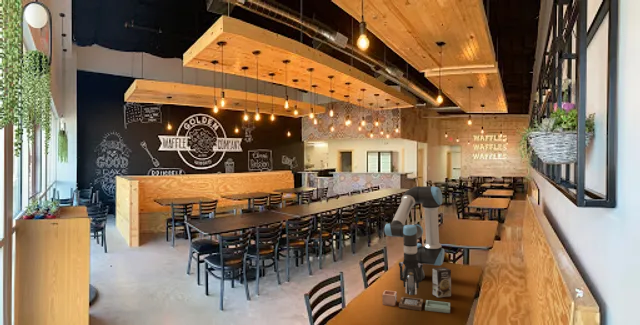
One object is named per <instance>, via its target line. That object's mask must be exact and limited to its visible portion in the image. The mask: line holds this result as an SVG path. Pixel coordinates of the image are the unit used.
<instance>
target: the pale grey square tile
mask: <svg viewBox="0 0 640 325" xmlns="http://www.w3.org/2000/svg"><path fill="white" fill-rule="evenodd" d="M404 304H408V305H417V304H418V300H410V299H405V302H404Z"/></svg>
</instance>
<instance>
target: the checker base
mask: <svg viewBox="0 0 640 325" xmlns="http://www.w3.org/2000/svg"><path fill="white" fill-rule="evenodd" d="M405 299H410V300H418V304H417V305H408V304H404V302H405ZM423 304H424V299H423V298H416V297H408V296H401V298H400V300H399V303H398V308H399V309H406V310H415V311H422V309H423Z"/></svg>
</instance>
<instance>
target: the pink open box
mask: <svg viewBox="0 0 640 325" xmlns="http://www.w3.org/2000/svg"><path fill="white" fill-rule="evenodd" d="M397 294H398V293H397V291H395V290H386V289H385V290H384V291H383V292H382V295H381V296H382V305H383V306H390V307H396V306H397V305H396V304H397V302H398V301H397V300H398V299H397V298H398V295H397Z"/></svg>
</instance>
